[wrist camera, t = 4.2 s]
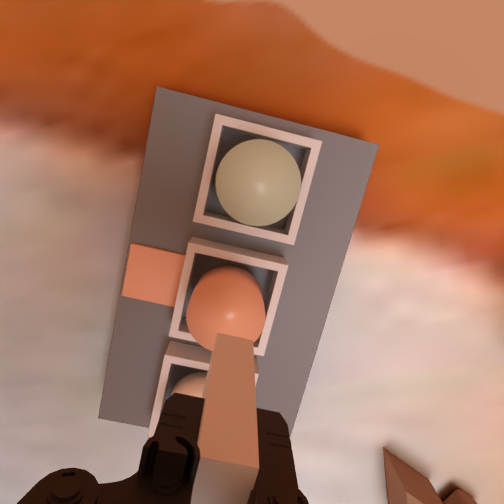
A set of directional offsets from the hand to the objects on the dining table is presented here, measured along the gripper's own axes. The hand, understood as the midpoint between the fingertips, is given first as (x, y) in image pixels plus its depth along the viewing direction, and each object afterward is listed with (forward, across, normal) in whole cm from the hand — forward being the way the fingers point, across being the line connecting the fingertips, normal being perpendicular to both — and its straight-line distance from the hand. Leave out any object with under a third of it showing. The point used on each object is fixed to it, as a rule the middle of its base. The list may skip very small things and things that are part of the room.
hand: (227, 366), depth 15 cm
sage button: (+9, 0, -7) cm, 11 cm away
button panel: (+13, 0, 0) cm, 13 cm away
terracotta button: (+9, 0, 0) cm, 9 cm away
